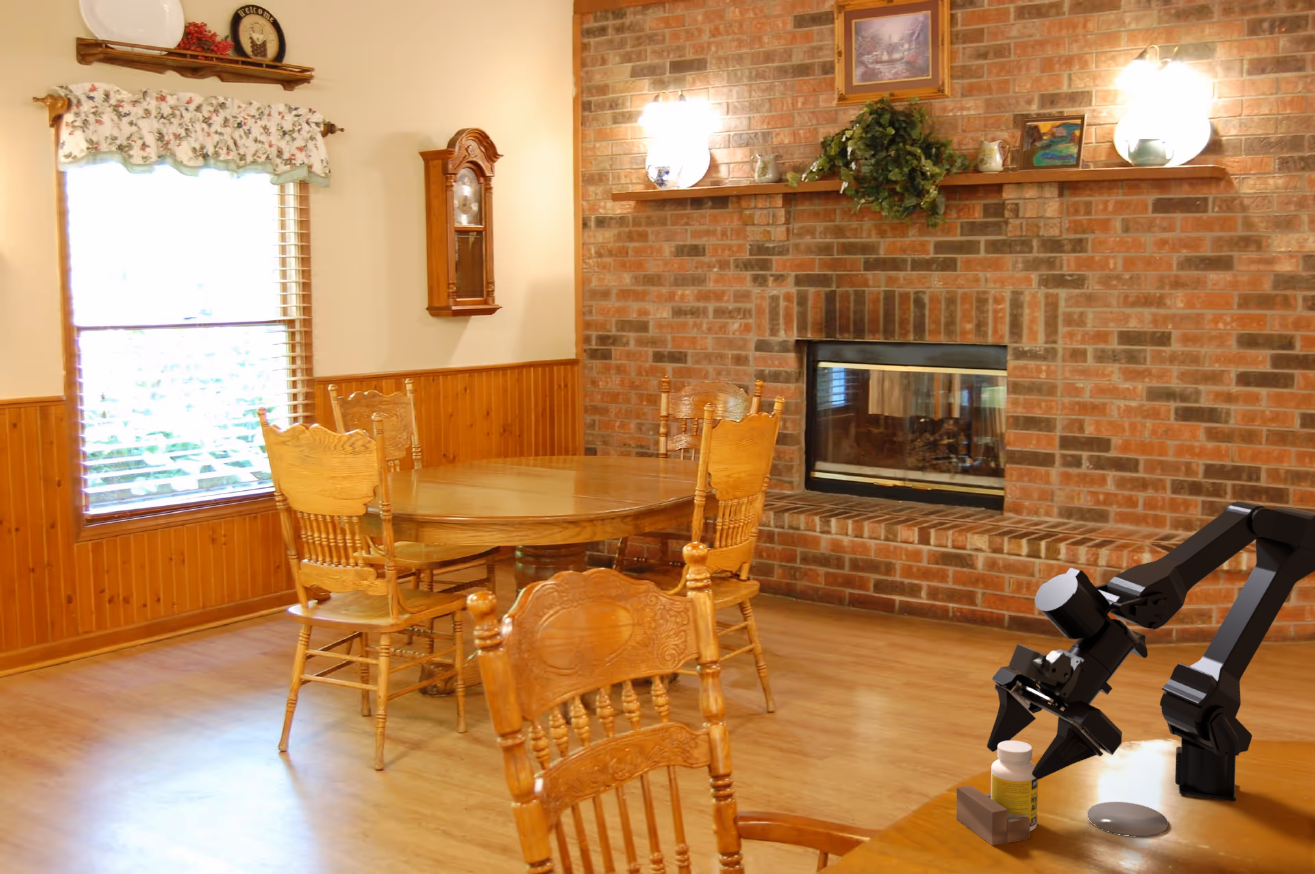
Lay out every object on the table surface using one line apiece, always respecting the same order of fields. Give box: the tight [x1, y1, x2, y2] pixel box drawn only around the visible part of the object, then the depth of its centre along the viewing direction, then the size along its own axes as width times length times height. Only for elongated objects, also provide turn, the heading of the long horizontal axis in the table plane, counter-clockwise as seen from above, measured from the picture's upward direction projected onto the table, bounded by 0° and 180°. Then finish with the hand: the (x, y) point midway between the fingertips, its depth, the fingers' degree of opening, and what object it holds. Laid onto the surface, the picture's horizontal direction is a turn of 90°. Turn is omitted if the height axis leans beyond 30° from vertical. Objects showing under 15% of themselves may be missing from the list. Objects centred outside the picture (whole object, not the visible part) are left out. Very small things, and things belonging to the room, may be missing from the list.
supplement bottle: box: [990, 740, 1039, 832], centre depth 148 cm, size 5×5×10 cm
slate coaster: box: [1087, 801, 1168, 838], centre depth 149 cm, size 9×9×1 cm
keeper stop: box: [956, 785, 1031, 846], centre depth 147 cm, size 5×8×4 cm, turn 18°
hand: (1011, 762), depth 147 cm, fingers open, 9 cm apart
